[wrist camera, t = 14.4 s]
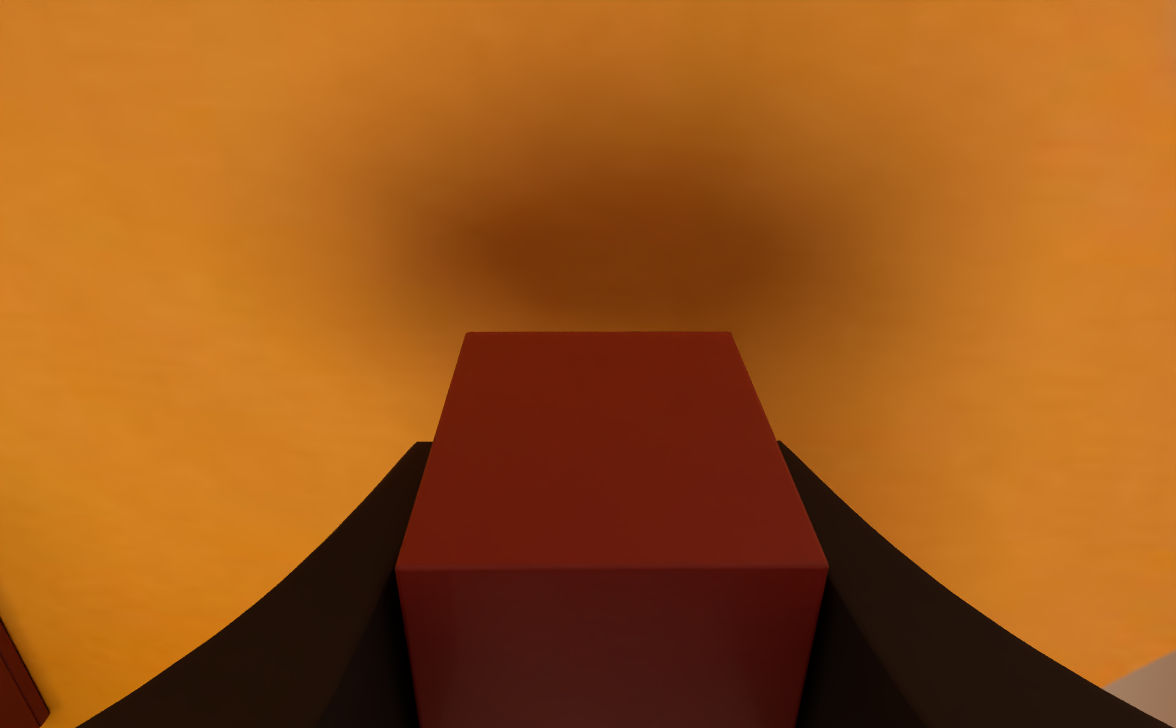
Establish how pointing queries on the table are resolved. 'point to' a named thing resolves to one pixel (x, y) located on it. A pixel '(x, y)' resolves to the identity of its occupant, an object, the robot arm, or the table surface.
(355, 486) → the table surface
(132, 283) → the table surface
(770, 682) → the red block
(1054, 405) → the table surface
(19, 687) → the red bin
